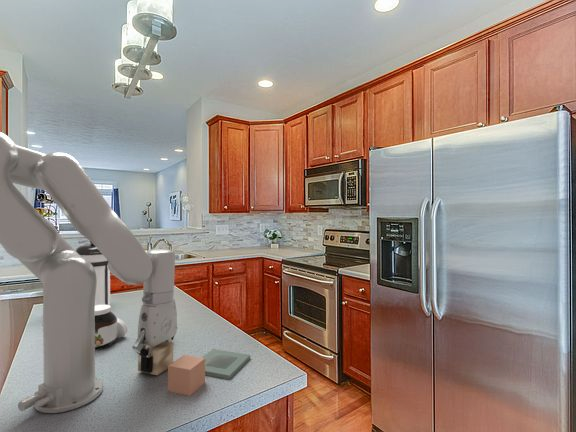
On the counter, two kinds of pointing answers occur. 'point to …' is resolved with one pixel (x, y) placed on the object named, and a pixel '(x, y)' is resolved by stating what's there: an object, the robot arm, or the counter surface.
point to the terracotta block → (186, 374)
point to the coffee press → (98, 272)
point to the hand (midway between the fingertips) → (155, 365)
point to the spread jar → (107, 326)
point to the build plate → (224, 363)
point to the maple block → (160, 357)
